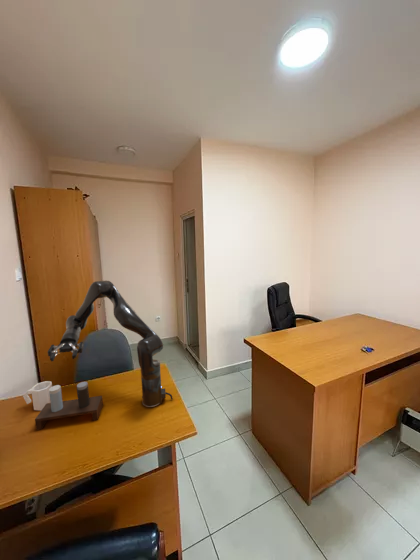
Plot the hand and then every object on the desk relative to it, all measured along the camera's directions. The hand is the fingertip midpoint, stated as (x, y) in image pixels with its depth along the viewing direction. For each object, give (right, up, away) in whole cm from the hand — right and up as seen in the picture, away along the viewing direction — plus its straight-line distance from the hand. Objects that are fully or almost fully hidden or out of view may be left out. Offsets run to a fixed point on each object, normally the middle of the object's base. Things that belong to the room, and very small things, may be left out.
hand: (62, 358), depth 105 cm
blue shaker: (0, -21, -4) cm, 21 cm away
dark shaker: (+11, -20, -2) cm, 23 cm away
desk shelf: (+6, -26, -2) cm, 26 cm away
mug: (-15, -25, +6) cm, 30 cm away
